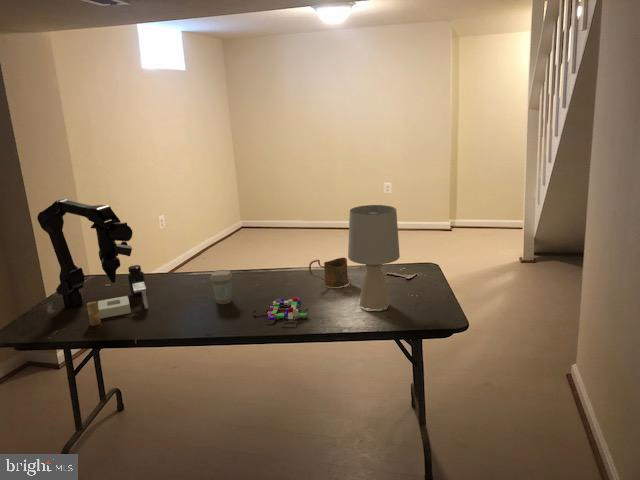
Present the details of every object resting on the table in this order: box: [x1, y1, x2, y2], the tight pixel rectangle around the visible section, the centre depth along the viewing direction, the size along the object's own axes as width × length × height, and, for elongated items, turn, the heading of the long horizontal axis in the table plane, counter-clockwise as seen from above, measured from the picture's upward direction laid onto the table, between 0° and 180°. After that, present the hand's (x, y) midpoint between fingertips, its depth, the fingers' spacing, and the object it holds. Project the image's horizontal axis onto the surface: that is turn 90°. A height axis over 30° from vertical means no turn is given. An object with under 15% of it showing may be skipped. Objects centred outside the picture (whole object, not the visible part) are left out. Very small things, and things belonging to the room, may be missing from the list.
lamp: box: [347, 204, 401, 309], centre depth 185 cm, size 19×19×37 cm
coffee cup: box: [210, 269, 233, 305], centre depth 200 cm, size 8×8×12 cm
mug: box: [308, 257, 350, 287], centre depth 213 cm, size 12×18×12 cm, turn 115°
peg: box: [86, 300, 102, 327], centre depth 186 cm, size 4×4×8 cm
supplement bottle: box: [126, 264, 148, 297], centre depth 213 cm, size 7×7×12 cm
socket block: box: [97, 295, 132, 320], centre depth 197 cm, size 11×10×4 cm
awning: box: [132, 282, 149, 310], centre depth 200 cm, size 4×9×8 cm, turn 24°
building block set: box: [267, 297, 308, 321], centre depth 188 cm, size 25×20×4 cm
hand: (112, 279), depth 195 cm, fingers open, 9 cm apart
